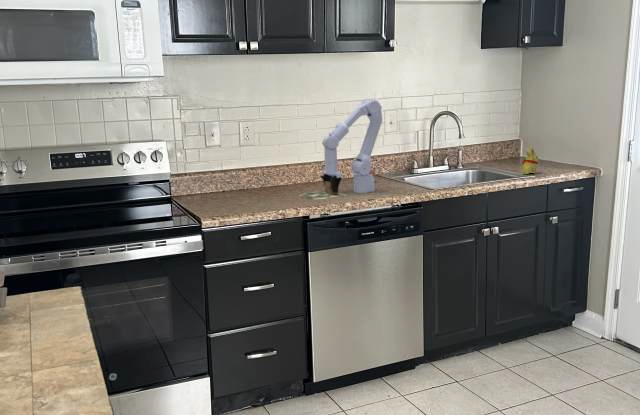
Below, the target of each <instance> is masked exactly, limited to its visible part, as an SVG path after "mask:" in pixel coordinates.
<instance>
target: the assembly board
mask: <svg viewBox="0 0 640 415" xmlns="http://www.w3.org/2000/svg"><path fill="white" fill-rule="evenodd" d="M298 196H300V197H303V198H306V199H309V200H313V201H317V200H323V199H331V198H337V197H338V198H339V197H345V196H348V195H347V194H345V193H341V192H338V194H337V195H330V194H328V193H325V191H320V190H317V191H310V192H304V193H301V194H300V195H298Z"/></svg>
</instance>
